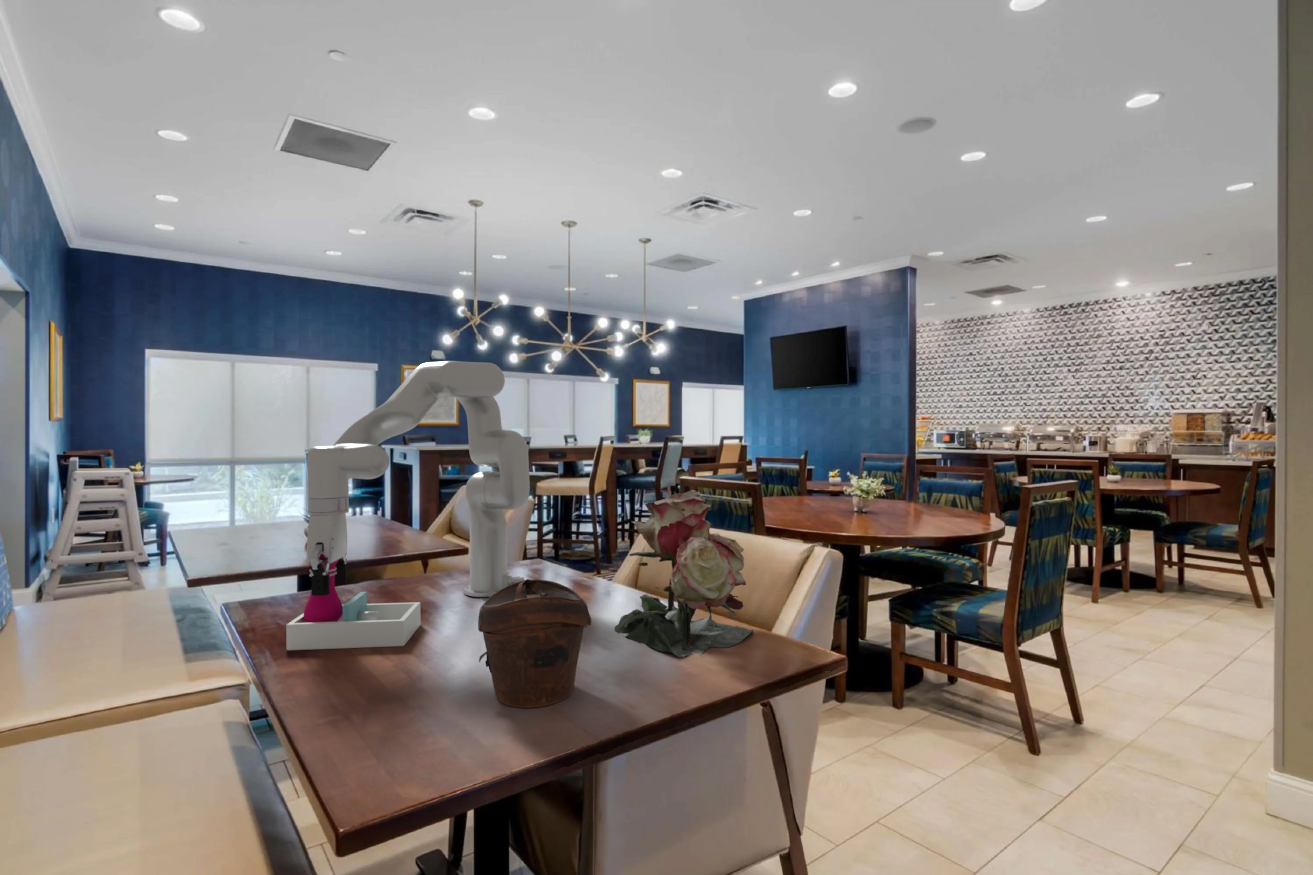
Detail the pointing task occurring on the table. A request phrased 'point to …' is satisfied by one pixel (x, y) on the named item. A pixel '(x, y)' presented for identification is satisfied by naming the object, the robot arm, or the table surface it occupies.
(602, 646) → the table surface
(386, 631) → the white tray
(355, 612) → the pusher
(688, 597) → the rose bouquet
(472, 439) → the robot arm
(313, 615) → the pepper mill
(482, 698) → the table surface
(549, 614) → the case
